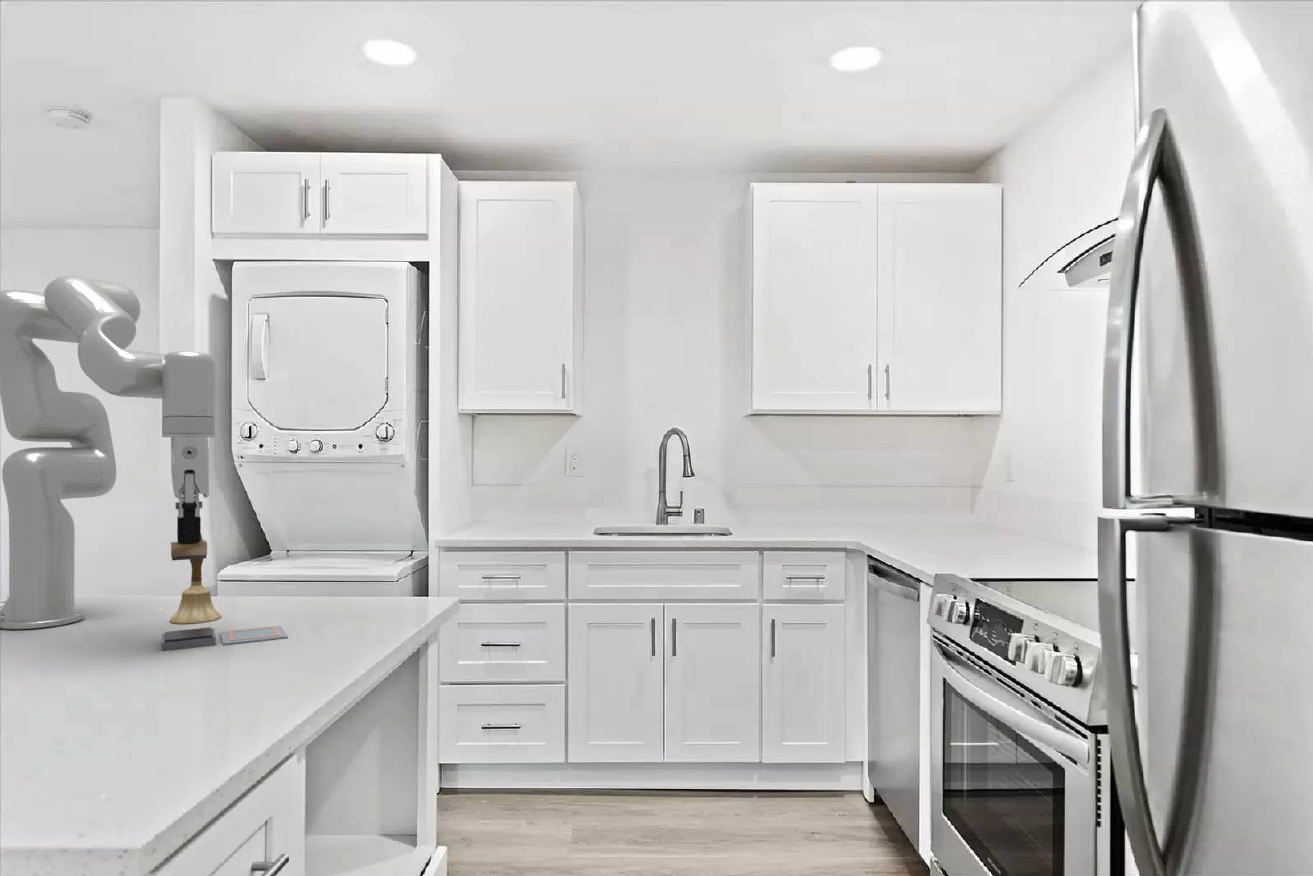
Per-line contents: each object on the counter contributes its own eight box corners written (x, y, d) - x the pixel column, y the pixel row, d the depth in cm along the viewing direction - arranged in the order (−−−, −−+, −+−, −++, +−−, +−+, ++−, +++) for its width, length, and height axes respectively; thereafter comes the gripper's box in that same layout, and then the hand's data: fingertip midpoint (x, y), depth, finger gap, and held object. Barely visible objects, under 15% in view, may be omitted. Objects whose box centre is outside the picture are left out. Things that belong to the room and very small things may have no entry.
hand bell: (230, 615, 155) (231, 530, 156) (202, 625, 147) (202, 535, 147) (189, 614, 156) (189, 530, 156) (158, 624, 148) (159, 535, 148)
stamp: (171, 560, 130) (171, 503, 130) (171, 557, 135) (171, 501, 135) (207, 558, 133) (207, 502, 133) (205, 554, 137) (206, 500, 137)
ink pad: (161, 650, 129) (161, 641, 129) (161, 640, 135) (161, 631, 135) (215, 644, 132) (215, 635, 132) (213, 635, 139) (213, 626, 139)
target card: (223, 645, 132) (223, 642, 132) (220, 633, 140) (220, 631, 140) (287, 638, 137) (287, 635, 137) (280, 627, 145) (280, 624, 145)
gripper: (217, 427, 129) (217, 545, 129) (212, 429, 143) (212, 535, 143) (161, 427, 125) (161, 548, 125) (162, 429, 139) (162, 538, 139)
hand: (188, 540), depth 134 cm, fingers closed on stamp, 3 cm apart
